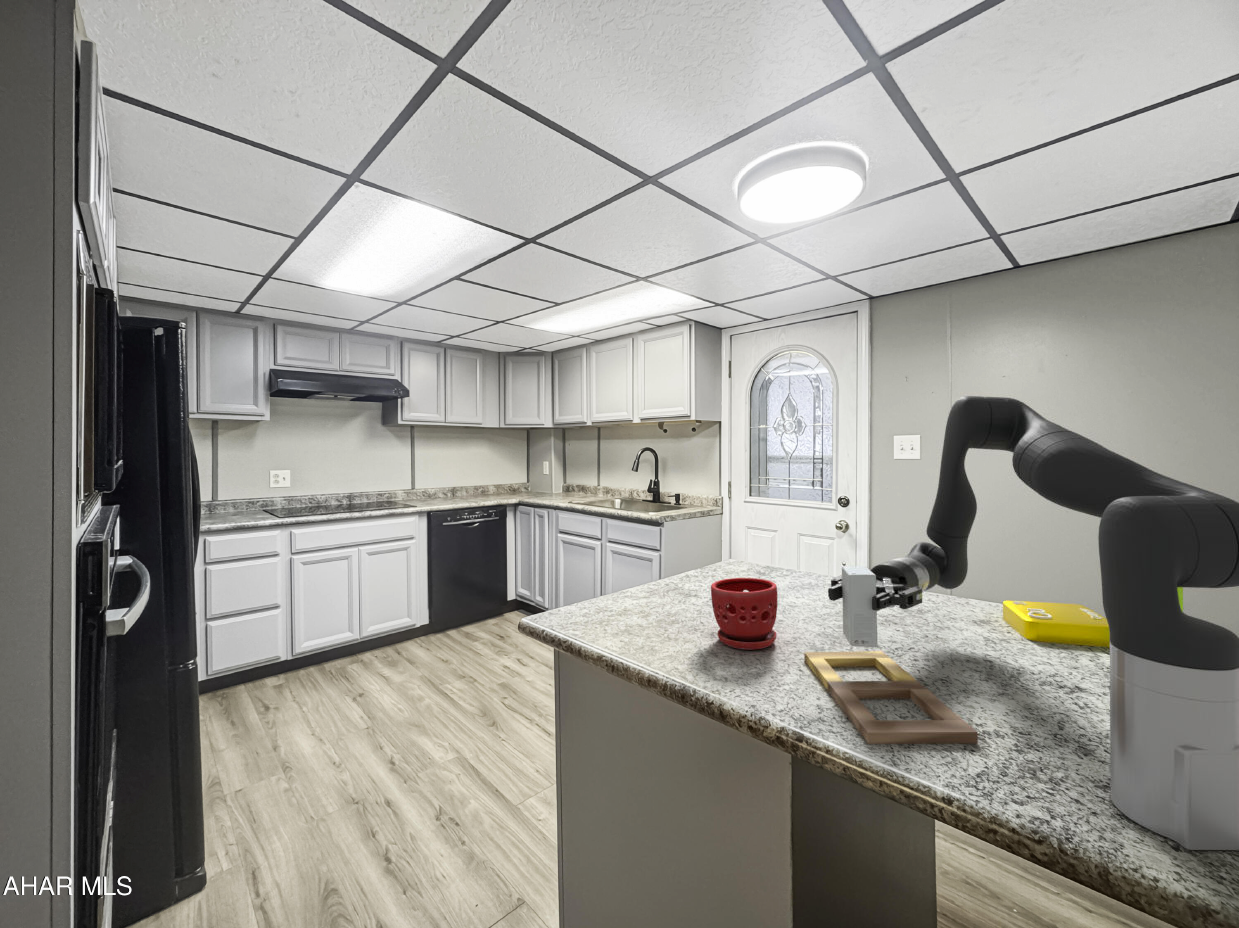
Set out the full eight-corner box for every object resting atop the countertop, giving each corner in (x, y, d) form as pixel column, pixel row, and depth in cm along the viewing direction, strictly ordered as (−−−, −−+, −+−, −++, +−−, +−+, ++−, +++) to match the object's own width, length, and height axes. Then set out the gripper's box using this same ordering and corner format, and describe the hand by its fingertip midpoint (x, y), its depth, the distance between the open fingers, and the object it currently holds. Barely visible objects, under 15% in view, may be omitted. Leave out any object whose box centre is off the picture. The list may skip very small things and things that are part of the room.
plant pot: (777, 632, 109) (776, 576, 109) (779, 657, 97) (778, 593, 96) (715, 628, 113) (713, 574, 113) (709, 651, 100) (707, 590, 100)
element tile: (1124, 650, 96) (1124, 625, 96) (1027, 643, 101) (1027, 618, 101) (1083, 624, 110) (1083, 601, 110) (999, 618, 115) (999, 597, 115)
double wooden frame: (977, 743, 67) (977, 731, 67) (868, 743, 68) (867, 732, 68) (882, 659, 94) (882, 651, 94) (804, 660, 95) (804, 652, 95)
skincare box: (878, 648, 84) (876, 575, 83) (850, 647, 85) (848, 574, 84) (868, 634, 90) (866, 566, 89) (842, 633, 90) (840, 566, 90)
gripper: (860, 554, 101) (812, 569, 91) (940, 566, 90) (895, 585, 80) (861, 592, 101) (813, 611, 91) (941, 609, 90) (896, 633, 80)
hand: (851, 599), depth 85 cm, fingers closed on skincare box, 7 cm apart
